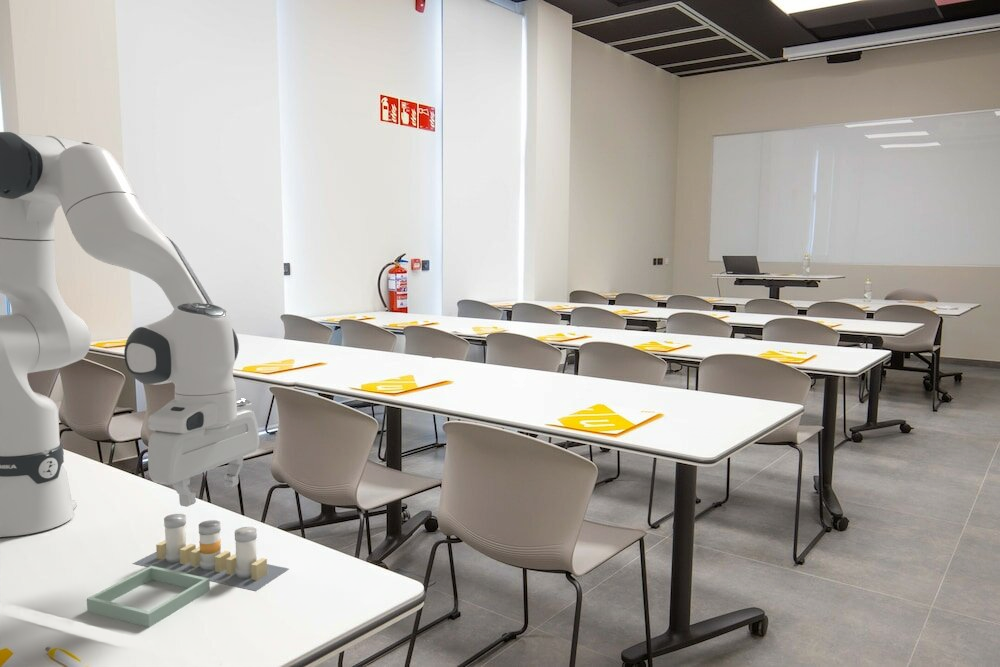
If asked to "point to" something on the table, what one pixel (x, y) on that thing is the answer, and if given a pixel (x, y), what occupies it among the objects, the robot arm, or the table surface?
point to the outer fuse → (245, 550)
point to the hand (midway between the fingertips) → (210, 494)
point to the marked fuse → (209, 543)
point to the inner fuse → (174, 536)
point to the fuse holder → (223, 567)
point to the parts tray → (133, 615)
